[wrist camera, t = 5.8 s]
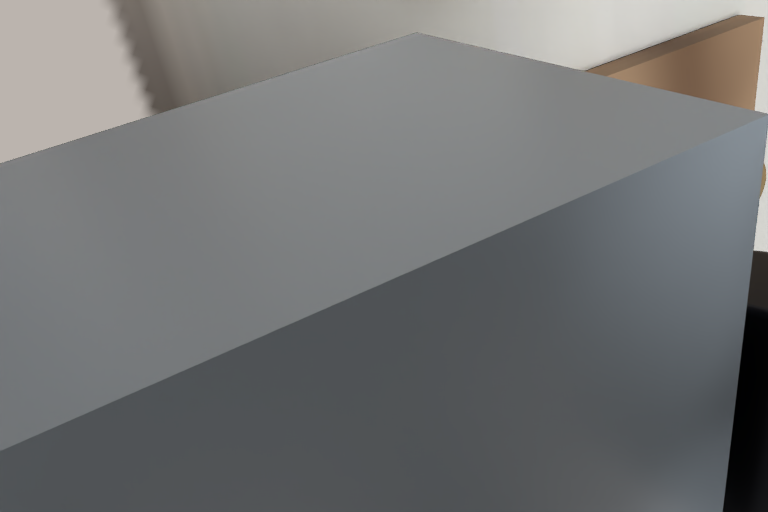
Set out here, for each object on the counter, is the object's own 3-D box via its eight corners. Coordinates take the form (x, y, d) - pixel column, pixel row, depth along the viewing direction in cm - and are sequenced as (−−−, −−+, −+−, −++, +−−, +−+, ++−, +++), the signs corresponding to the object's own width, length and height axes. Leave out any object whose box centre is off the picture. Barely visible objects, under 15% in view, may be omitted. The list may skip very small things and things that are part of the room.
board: (550, 291, 25) (630, 345, 21) (537, 88, 21) (632, 116, 17) (721, 209, 27) (816, 246, 24) (739, 15, 23) (855, 26, 20)
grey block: (135, 548, 10) (204, 983, 6) (-89, 190, 7) (-286, 574, 3) (471, 377, 11) (710, 614, 7) (416, 32, 8) (770, 114, 4)
